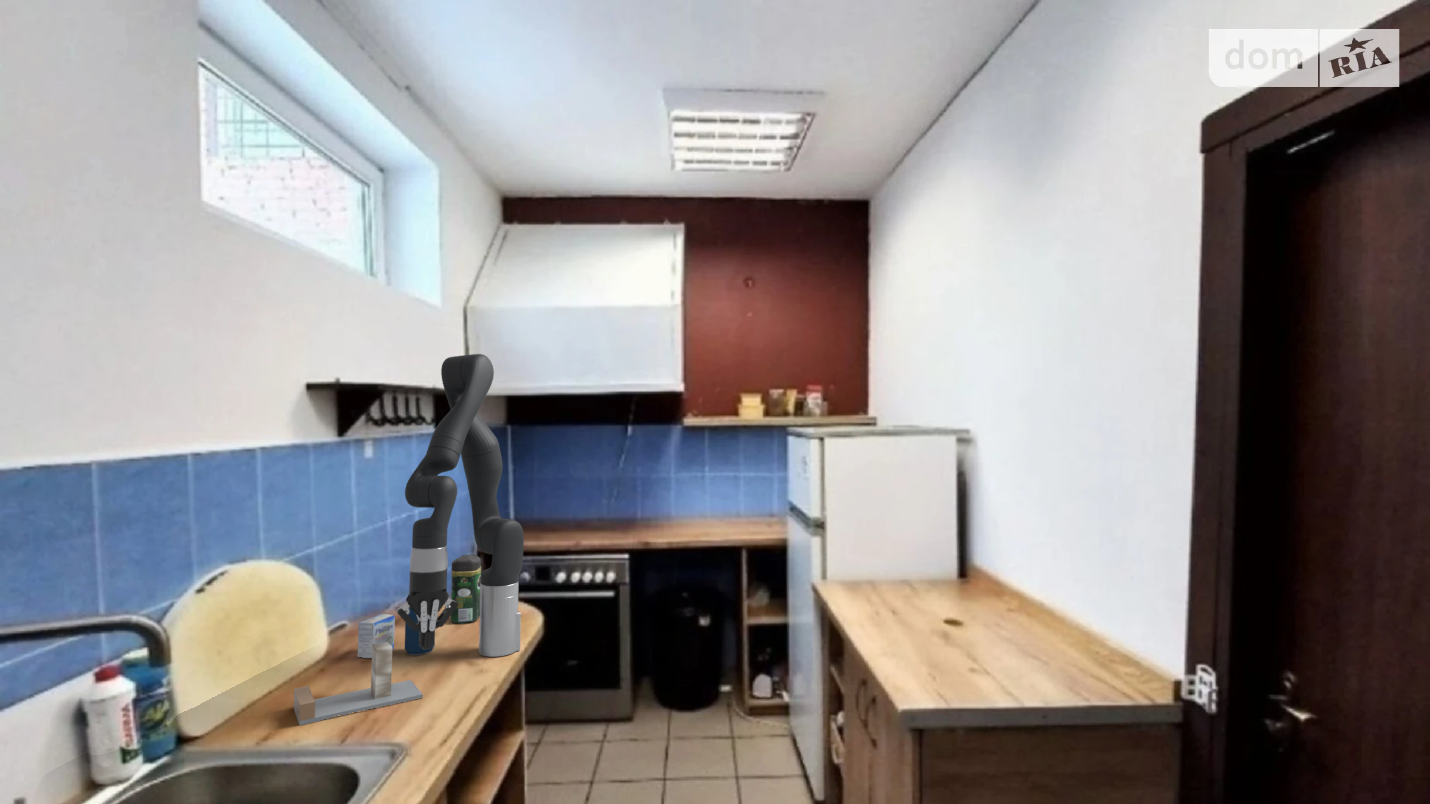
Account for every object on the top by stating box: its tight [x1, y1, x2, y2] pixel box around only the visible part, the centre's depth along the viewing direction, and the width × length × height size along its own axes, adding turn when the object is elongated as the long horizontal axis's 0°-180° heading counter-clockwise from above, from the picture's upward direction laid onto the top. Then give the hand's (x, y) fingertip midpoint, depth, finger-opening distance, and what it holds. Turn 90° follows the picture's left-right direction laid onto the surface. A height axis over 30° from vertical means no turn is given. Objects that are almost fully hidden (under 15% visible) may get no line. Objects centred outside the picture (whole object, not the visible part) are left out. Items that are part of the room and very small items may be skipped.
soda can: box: [404, 606, 436, 656], centre depth 170 cm, size 7×7×12 cm
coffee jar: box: [450, 554, 482, 625], centre depth 199 cm, size 10×8×19 cm
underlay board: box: [293, 679, 424, 726], centre depth 139 cm, size 22×10×4 cm, turn 127°
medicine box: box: [357, 613, 396, 659], centre depth 169 cm, size 8×4×9 cm, turn 168°
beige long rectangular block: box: [370, 642, 393, 699], centre depth 141 cm, size 3×4×10 cm
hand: (426, 648), depth 147 cm, fingers closed
